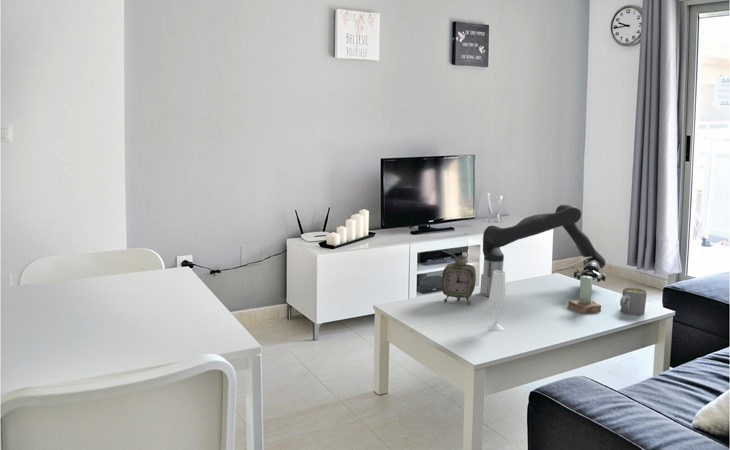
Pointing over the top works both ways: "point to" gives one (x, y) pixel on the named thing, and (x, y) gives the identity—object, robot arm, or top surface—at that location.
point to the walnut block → (584, 307)
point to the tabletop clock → (458, 279)
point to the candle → (585, 290)
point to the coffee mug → (633, 300)
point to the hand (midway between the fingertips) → (588, 278)
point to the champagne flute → (497, 295)
